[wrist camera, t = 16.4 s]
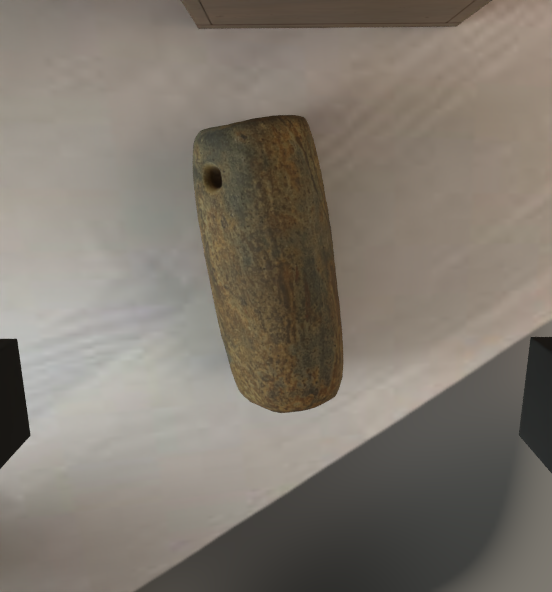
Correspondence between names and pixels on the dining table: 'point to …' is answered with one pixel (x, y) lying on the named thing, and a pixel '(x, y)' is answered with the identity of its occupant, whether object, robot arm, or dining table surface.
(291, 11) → the chest
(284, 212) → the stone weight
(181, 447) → the dining table surface
